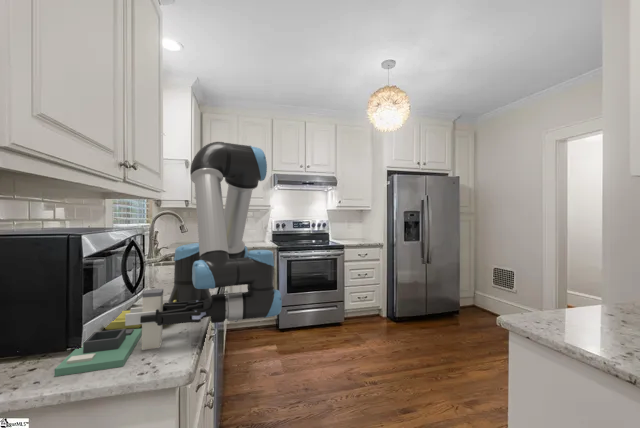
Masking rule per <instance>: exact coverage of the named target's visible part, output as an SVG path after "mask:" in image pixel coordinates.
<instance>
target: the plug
mask: <svg viewBox="0 0 640 428" xmlns="http://www.w3.org/2000/svg"><path fill="white" fill-rule="evenodd" d="M163 304H164V288H155V289H154V288H153V289H145V290H144V291H143V292H142V306H141V307H142V312H150V311H156V310H157V309H158V310H159V312H163ZM141 328H142V335H141V351H144V350H145V351H146V350H153V349H160V348H161V345H162V342H163V325H160V326H158V325H157V323H148V324H142V326H141Z"/></svg>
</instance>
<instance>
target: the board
mask: <svg viewBox="0 0 640 428" xmlns="http://www.w3.org/2000/svg"><path fill="white" fill-rule="evenodd" d="M91 334H92V335H91ZM91 334H90V335H91V336H90V335H89V336H90V337H89V336H88V337H89V338H88V337H87V338H88V339H87V338H86V339H87V340H86V339H85V340H86V341H85V340H84V341H85V342H84V341H83V342H84V343H83V347H82V348H79V349H76V348H75V349H74V350H73V351H72V352H71V353H69V355H68V356H67V357H66V358H64V360H62V361H61V362H60V363H59V364H58V365H57V366H56V367H55V368H54V377H60V376H61V375H62V376H67V375H74V374H81V373H88V372H96V371H101V370H102V371H103V370H108V369H109V370H110V369H115V368H122V367H124V366H125V364H126V363H127V361H128V359H129V357H130V355H132V353H133V350H134V349H135V347H136V346H137V343H138V342H139V341H140V339H141V338H142V327H140V328H131V329H116V330H101V331H94V332H93V333H91Z"/></svg>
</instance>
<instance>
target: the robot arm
mask: <svg viewBox="0 0 640 428" xmlns="http://www.w3.org/2000/svg"><path fill="white" fill-rule="evenodd" d="M266 158H267V157H266V154H265V152H264V151H263V149H262V148H261V147H257V146H252V145H246V144H238V143H230V142H224V141H214V142H210V143H207V144H205V145H204V146H203V147H201V148H200V149H199V150H198V151H197V153H196V154H195V155H194V157H193V159H192V161H191V164H190V180H191V182H192V184H194V192H195V193H194V194H195V206H196V207H195V208H196V219H197V220H196V222H197V232H198V233H197V234H198V237H197V238H198V242H196V243H195V242H194V243H188V244H183V245H180V246H178V247H176V248H175V251H174V258H173V261H174V271H173V272H174V273H173V274H174V275H173V281H174V282H173V288H172V290H171V293H170V295H169V299H168V302H163V304H164V305H163V312H159V310H158V309H157V310H156V311H150V312H142V306H140V307H131V308H130V309H129V310H130V313H128V314H126V315H125V326H128V325H138V324H148V323H157V325H158V326H160V325H162V326H166V325H167V326H168V325H179V324H188V323H197V324H198V323H201V320H202V319H203V320H204V318H208V317H210V323H211V324H215V323H224V322H225V321H228V322H232V321H234V322H235V323H237V322H239V321H241V320H242V321H243V320H250V319H262V318H263V319H265V318H269V317H275V316H279V314H281V311H282V307H283V305H282V304H283V300H282V293H281V291H280V289H275V287H274V282H275V281H274V279H275V277H274V275H275V274H274V273H275V259H274V253H273V251H272V250H269V249H254V250H252V249H251V250H248V247H247V246H246V244H245V242H244V238H243V237H244V233H245V227H246V223H247V219H248V214H249V208H250V205H251V204H250V203H251V199H252V194H253V190H255V189H256V188H258V185H259V182H262V181H264V180H265V179H266V177H267V173H268V164H267V159H266ZM223 180H224V182H225V183H226V184H227V185H228V186H227V194H226V199H225V205H224V201H223V194H222V193H223V192H222V191H223V190H222V185H221V184H222V183H221V182H222V181H223ZM245 285H247V287H246V288H247V291H241V292H239V291H238V292H229V293H227V294H224V293H219V294H218V293H217V294H211V292H210V290H212V289H219V288H226V287H234V286H238V287H239V286H245ZM174 300H177V301H176V302H173V301H174Z"/></svg>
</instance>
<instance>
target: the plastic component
mask: <svg viewBox="0 0 640 428" xmlns="http://www.w3.org/2000/svg"><path fill="white" fill-rule="evenodd" d="M176 301H177V300H174V301H173V302H176ZM163 305H164V303H163ZM128 313H130V309H129V310H123V311H122V313H121V314H120V315H119V316H118V317H117V318H116V319H115V320H114V321H112V322H111V323H110V324H109V325H108V326H107V327H106V328H105V329H104V330H105V331H108V330H118V329H126V330H127V329H141V328H142V324H138V325H128V326H125V315H126V314H128Z"/></svg>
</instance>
